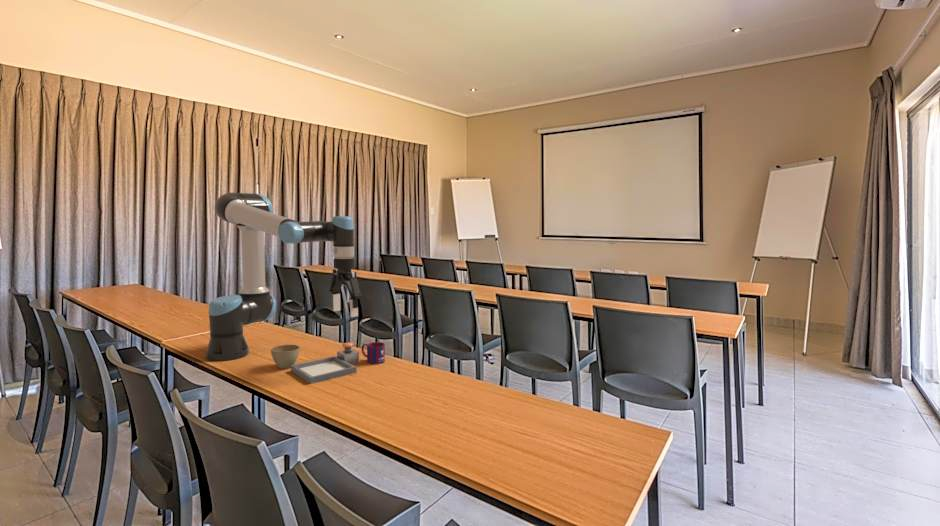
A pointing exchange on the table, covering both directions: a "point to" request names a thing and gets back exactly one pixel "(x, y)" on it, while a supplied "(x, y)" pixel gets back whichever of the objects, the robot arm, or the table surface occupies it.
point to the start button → (347, 347)
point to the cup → (375, 352)
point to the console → (349, 356)
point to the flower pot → (285, 355)
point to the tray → (323, 369)
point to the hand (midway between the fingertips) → (345, 313)
